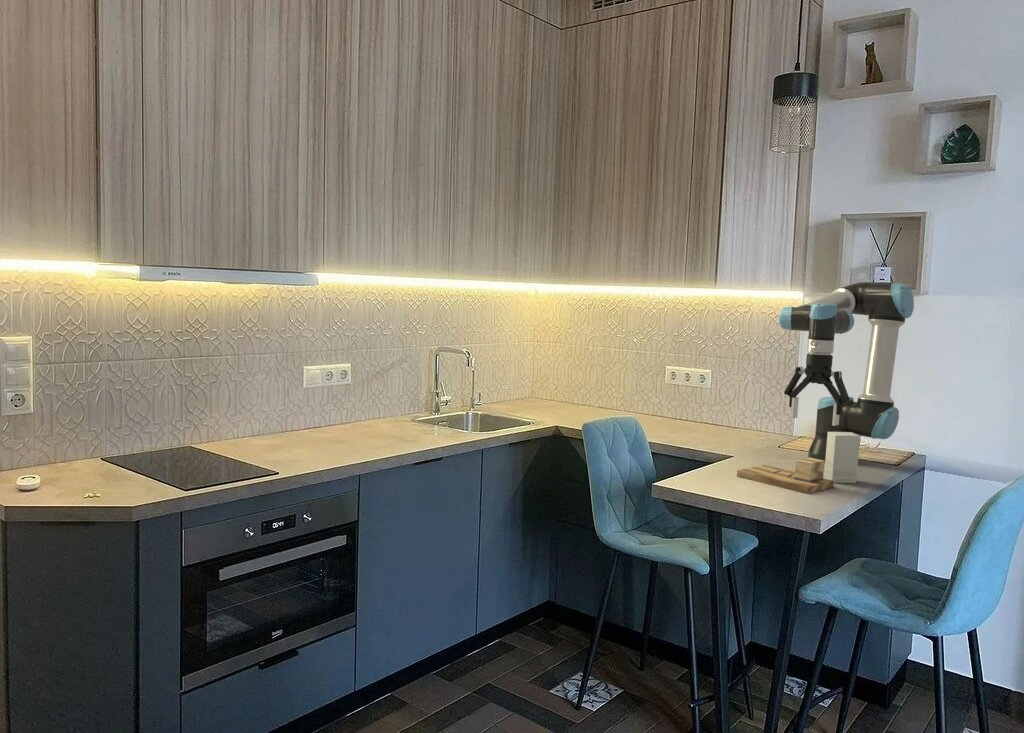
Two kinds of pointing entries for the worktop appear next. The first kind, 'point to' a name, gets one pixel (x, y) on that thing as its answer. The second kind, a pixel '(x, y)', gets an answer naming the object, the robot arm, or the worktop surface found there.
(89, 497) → the worktop surface
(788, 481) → the board
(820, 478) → the block
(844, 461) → the skincare box
